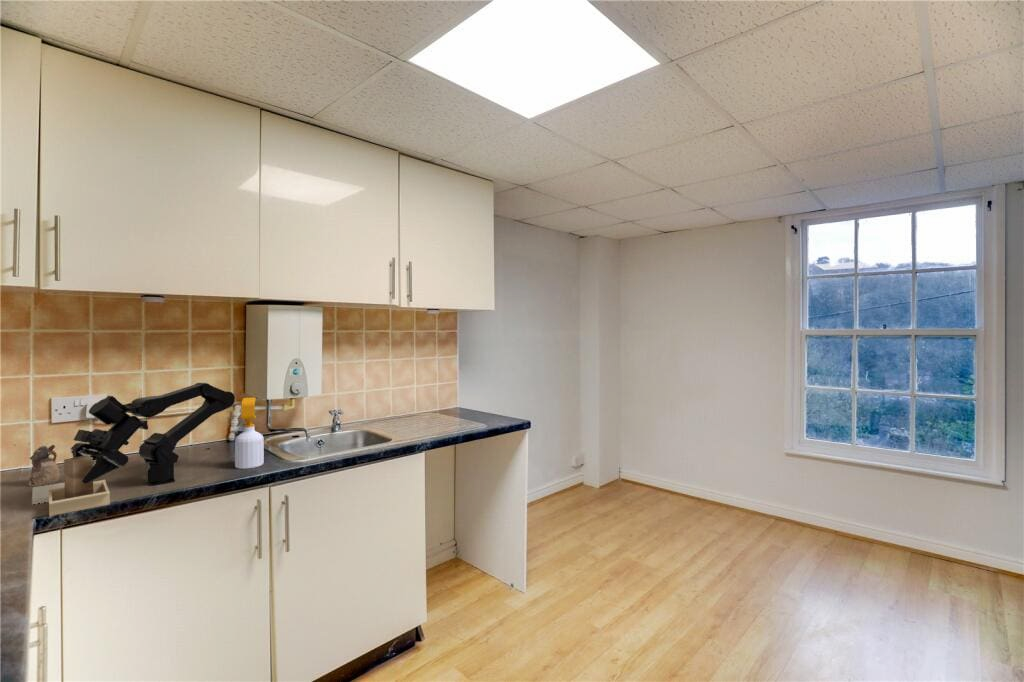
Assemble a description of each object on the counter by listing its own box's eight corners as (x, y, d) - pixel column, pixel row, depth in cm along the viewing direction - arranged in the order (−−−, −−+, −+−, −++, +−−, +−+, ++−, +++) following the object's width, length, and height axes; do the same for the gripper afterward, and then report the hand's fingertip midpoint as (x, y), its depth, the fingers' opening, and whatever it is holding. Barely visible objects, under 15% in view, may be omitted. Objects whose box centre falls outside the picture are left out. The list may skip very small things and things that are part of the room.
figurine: (33, 481, 153) (32, 444, 152) (62, 478, 156) (62, 442, 156) (24, 487, 146) (24, 449, 146) (55, 484, 150) (55, 446, 150)
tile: (77, 484, 149) (77, 480, 149) (80, 496, 140) (80, 491, 140) (32, 492, 142) (32, 487, 142) (32, 505, 133) (31, 499, 132)
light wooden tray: (105, 492, 143) (105, 479, 143) (110, 505, 132) (110, 492, 132) (49, 502, 135) (48, 489, 135) (49, 517, 124) (49, 503, 124)
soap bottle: (264, 461, 177) (264, 395, 177) (262, 467, 169) (261, 399, 168) (237, 463, 174) (236, 397, 173) (233, 470, 166) (232, 400, 165)
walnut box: (84, 500, 136) (83, 455, 136) (93, 502, 135) (92, 457, 134) (64, 505, 132) (64, 459, 132) (73, 508, 131) (72, 461, 130)
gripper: (78, 415, 141) (29, 461, 131) (115, 420, 133) (66, 470, 123) (110, 436, 148) (66, 481, 138) (146, 442, 141) (102, 490, 131)
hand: (74, 480), depth 132 cm, fingers open, 9 cm apart
